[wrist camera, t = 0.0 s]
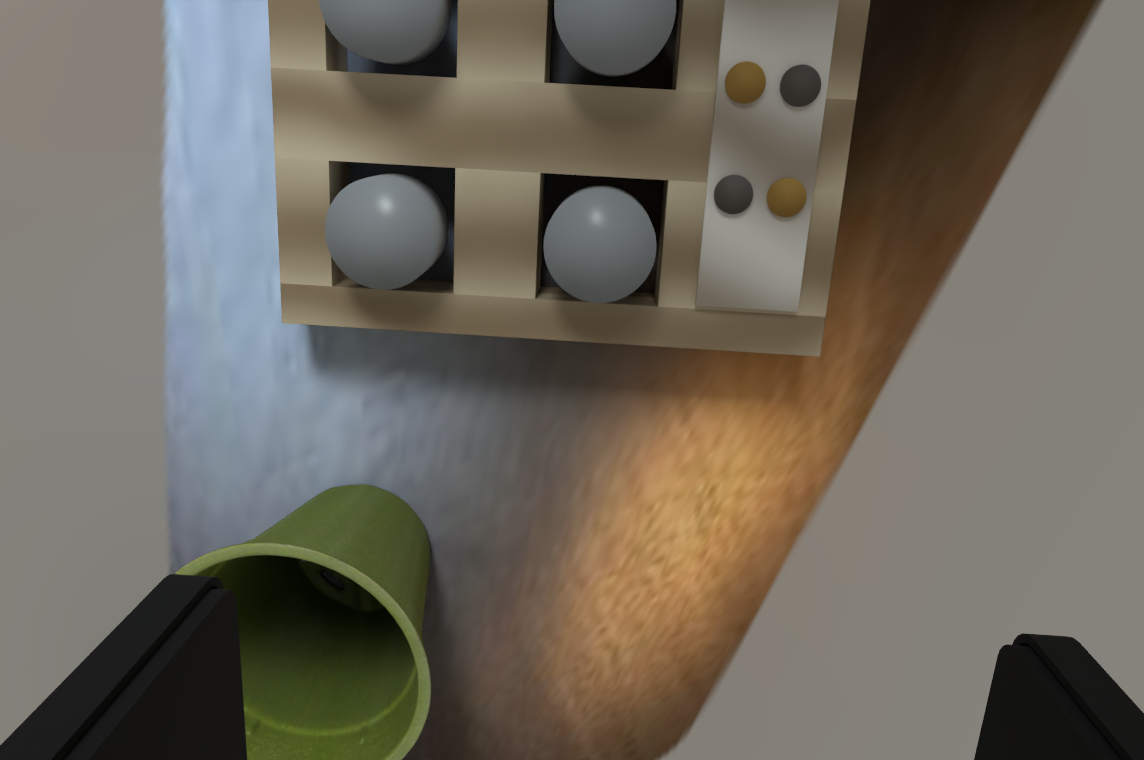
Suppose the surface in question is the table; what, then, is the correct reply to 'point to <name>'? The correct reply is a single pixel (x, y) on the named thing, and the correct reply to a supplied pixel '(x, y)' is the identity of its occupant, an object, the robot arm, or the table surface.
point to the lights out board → (585, 172)
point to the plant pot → (331, 628)
